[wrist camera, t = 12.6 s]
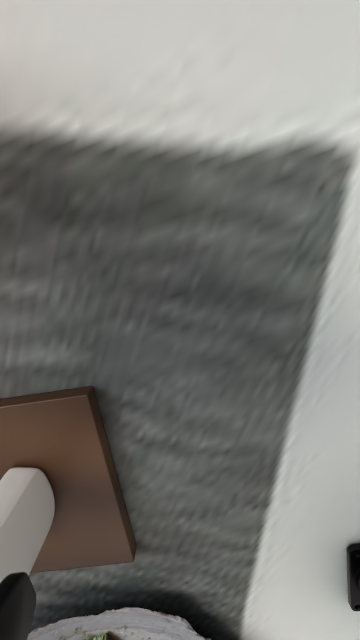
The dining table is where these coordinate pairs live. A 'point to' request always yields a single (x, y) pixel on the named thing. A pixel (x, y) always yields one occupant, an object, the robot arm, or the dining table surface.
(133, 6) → the dining table surface
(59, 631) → the food plate
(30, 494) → the eye dropper bottle
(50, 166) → the dining table surface
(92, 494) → the walnut board
